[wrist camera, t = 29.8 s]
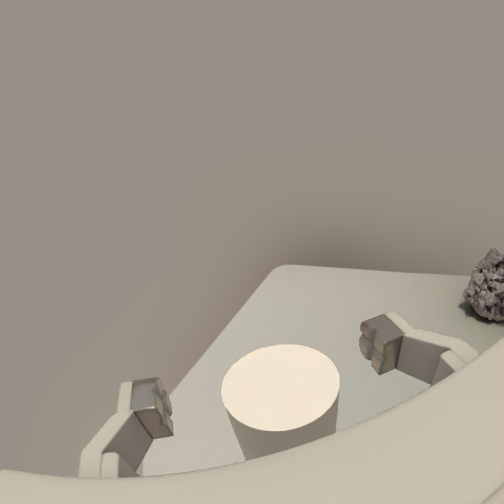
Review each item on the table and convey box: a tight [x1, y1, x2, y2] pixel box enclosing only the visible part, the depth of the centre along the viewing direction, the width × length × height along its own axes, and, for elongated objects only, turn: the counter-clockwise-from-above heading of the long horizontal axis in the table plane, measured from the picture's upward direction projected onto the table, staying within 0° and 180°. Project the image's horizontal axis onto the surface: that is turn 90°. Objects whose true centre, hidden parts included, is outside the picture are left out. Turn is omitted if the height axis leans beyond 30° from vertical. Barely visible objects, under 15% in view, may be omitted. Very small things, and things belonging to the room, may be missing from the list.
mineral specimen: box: [462, 248, 504, 321], centre depth 29 cm, size 12×9×10 cm
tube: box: [221, 344, 340, 461], centre depth 13 cm, size 4×4×15 cm
